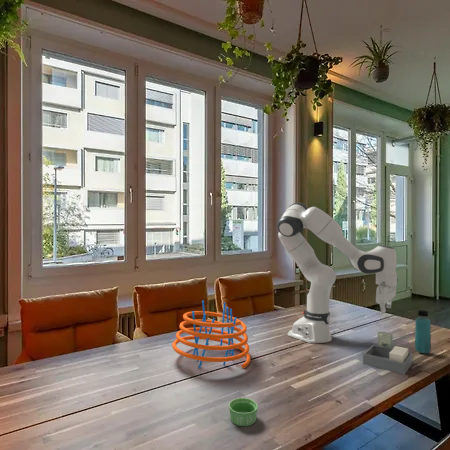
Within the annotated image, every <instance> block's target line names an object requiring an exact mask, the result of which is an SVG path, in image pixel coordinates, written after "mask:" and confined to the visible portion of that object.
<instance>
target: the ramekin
mask: <svg viewBox="0 0 450 450" xmlns="http://www.w3.org/2000/svg"><path fill="white" fill-rule="evenodd" d="M258 408H259V406H258V404H257V402H256V401H255V400H254V399H251V398H248V397H237V398H234V399H232V400H231V401H230V402H229V403H228V409H229V418H230V421H231V422H232V423H233V424H234V425H236V426H240V427H247V426H248V427H249V426H251V425H253V424H254V423H256V421H257V414H258Z"/></svg>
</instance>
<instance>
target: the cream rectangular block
mask: <svg viewBox="0 0 450 450" xmlns="http://www.w3.org/2000/svg"><path fill="white" fill-rule="evenodd" d="M408 353H409V348H407V347H401V346H397V345H395V346H394V347H393V348H392V350H391V352H390V353H389V360H392V361H397V362H401V363H404V362H405V360H406V359H407V358H408Z"/></svg>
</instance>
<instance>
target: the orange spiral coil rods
mask: <svg viewBox="0 0 450 450" xmlns="http://www.w3.org/2000/svg"><path fill="white" fill-rule="evenodd" d="M226 304H227V303H226V302H223V310H222V313H220V312H213V311H206V310H205V301H204V300H202V301H201V305H202V306H201V307H202V310H195V311H194V310H193V311H187V312H184V313H183V315H182V319H183V320H184V321H181V322H180V324H179V329H180V330H178V331H177V332H176V334H175V340H174V341H173V342H172V345H171V347H172V349H173V351H174V352H176V353H177V354H178V355H180V356H182V357H184V358H188V359H191V360H196V362H197V363H199V364H198V368H199V369H201V367H202V363H203V362H206V363H207V362H208V363H209V362H210V363H222V365H223V366H225V365H226V363H227V362H235V361H237V360H240V359H242V358H244V357H245V356H246V359H245V362H243V363H242V364H241V366H240V367H241V369H246V368H247V366H249V365H250V363H251V361H252V359H251V354H250V353H249V352H250V345H249V343H248V342H249V336H248V334H247V329H248V327H247V325H246V323H244V321H242V320H240V319H238V317H234V316H233V309H232V308H229V307H228V306H226ZM190 316H192V318H190ZM195 316H203V317H202V319H200V318H199V319H196V318H195ZM206 316H211V317H217V318H222V321H219V320H218V321H217V320H216V318H212V320H210V319H206ZM225 319H226V322H225ZM190 324H192V325H193V327H188V328H187V327H185V326H186V325H190ZM196 326H200V327H196ZM238 326H241V327H242V328H239V327H238ZM217 328H218V329H217ZM219 328H221V329H219ZM224 328H227V331H225V330H224ZM234 331H235V332H234ZM203 332H204V333H203ZM213 333H214V334H213ZM182 334H187V335H188V336H181V335H182ZM241 336H242V337H243V338H242V337H241ZM234 339H235V340H236V341H239V342H238V343H235V342H234ZM190 340H194V342H192V341H190ZM200 340H205V344H200V343H199V341H200ZM209 341H213V342H218V343H220V345H209ZM179 343H181V344H182V345H185V346H187V347H190V348H194V349H193V352H192V353H188V352H186V351H184V350H181V349H180V348H179V347H178V346H177V344H179ZM223 344H225V345H223ZM244 347H245V348H244ZM235 349H238V350H239V351H241V352H240V353H238V354H235V353H234V350H235ZM199 350H203V351H202V353H201V355H199ZM207 350H208V351H225V355H224V357H222V356H221V357H220V356H219V357H213V356H205V353H206V351H207ZM229 354H230V355H231V356H228V355H229Z"/></svg>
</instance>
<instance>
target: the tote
mask: <svg viewBox="0 0 450 450" xmlns="http://www.w3.org/2000/svg"><path fill="white" fill-rule="evenodd" d="M392 349H393V348H392ZM392 349H390V348H386V347H382V346H377V344H372V345H371V346H370V347H369V348H368V349H367V350H365V351H364V352H363V354H362V364H363V365H367V366H370V367H373V368H377V369H380V370H381V369H382V370H385V371H389V372H393V373H396V374H399V375H400V374H401V375H406V373H408V370H410V369H409V368H410V367H411V366H412V365H413V353H412V352H408V358H407V359H406V360H405V362H404V363H401V362H397V361H392V360H389V353H390V352H391V350H392Z"/></svg>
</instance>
